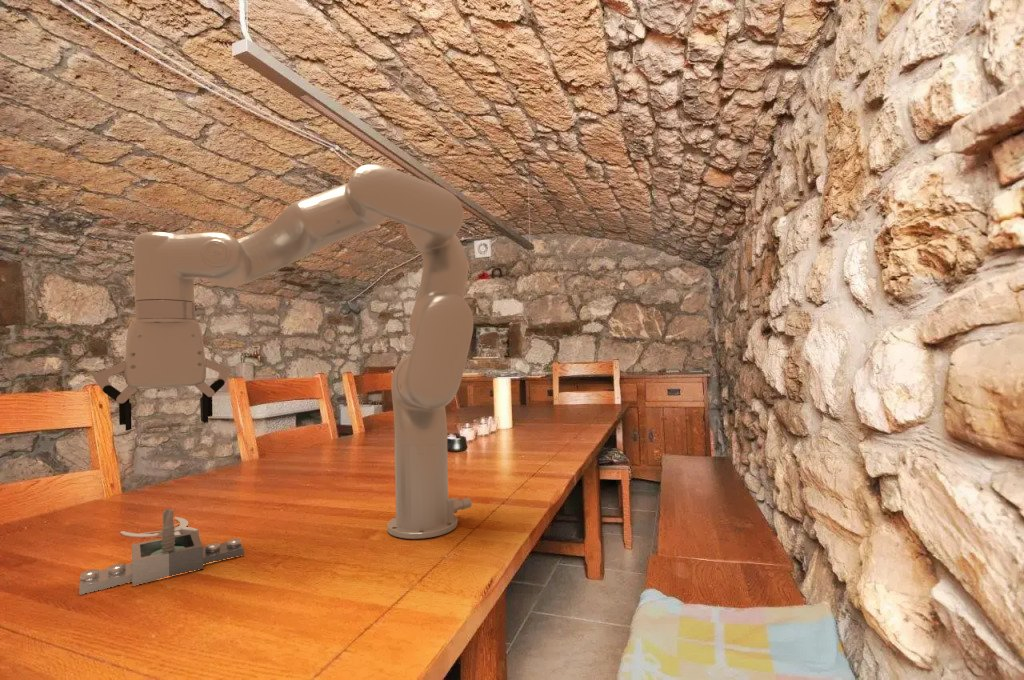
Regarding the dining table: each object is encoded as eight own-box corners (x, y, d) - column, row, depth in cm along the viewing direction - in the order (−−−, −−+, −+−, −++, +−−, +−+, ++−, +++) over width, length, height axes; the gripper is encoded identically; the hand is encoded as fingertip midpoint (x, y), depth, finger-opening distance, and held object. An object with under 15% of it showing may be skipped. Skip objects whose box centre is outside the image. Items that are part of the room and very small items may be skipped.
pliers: (177, 512, 100) (217, 524, 93) (177, 520, 100) (217, 532, 93) (118, 527, 92) (157, 541, 84) (118, 536, 92) (157, 551, 84)
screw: (140, 572, 75) (173, 559, 79) (162, 577, 73) (195, 563, 78) (140, 512, 75) (173, 502, 80) (162, 515, 73) (195, 505, 78)
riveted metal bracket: (236, 543, 86) (236, 523, 86) (245, 559, 79) (245, 536, 79) (82, 578, 73) (82, 554, 73) (78, 600, 67) (78, 573, 67)
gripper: (225, 317, 85) (228, 417, 85) (93, 315, 75) (95, 430, 74) (233, 313, 79) (235, 421, 79) (91, 311, 69) (93, 435, 69)
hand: (167, 425), depth 77 cm, fingers open, 9 cm apart
